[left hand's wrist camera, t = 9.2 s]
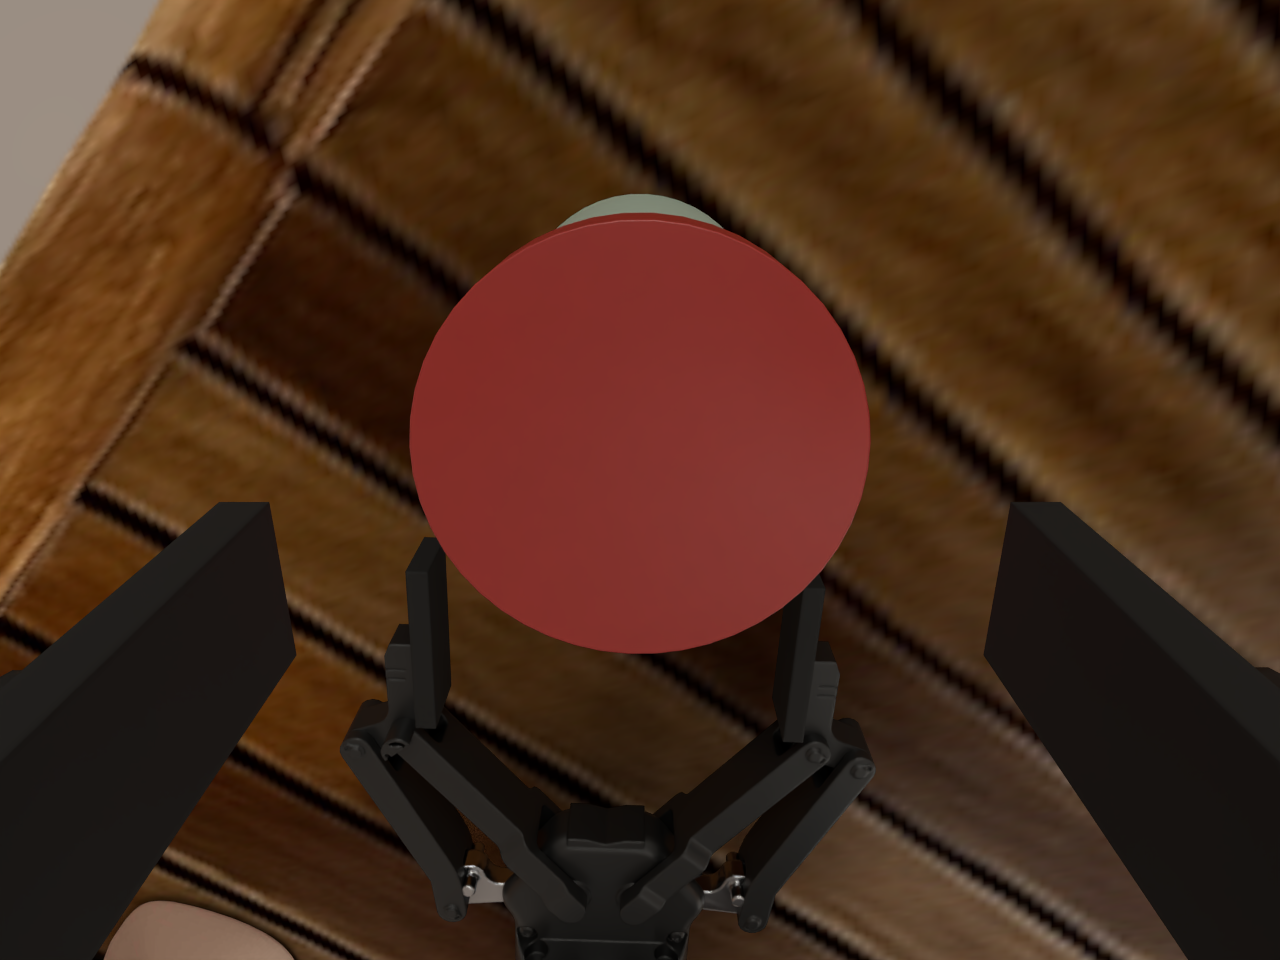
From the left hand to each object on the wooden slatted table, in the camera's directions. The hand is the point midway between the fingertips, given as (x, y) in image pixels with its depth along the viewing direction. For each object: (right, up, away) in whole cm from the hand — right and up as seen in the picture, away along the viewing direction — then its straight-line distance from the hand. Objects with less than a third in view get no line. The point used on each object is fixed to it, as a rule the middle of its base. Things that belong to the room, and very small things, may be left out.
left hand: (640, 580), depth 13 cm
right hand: (-1, -1, +17) cm, 17 cm away
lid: (0, +2, +5) cm, 6 cm away
